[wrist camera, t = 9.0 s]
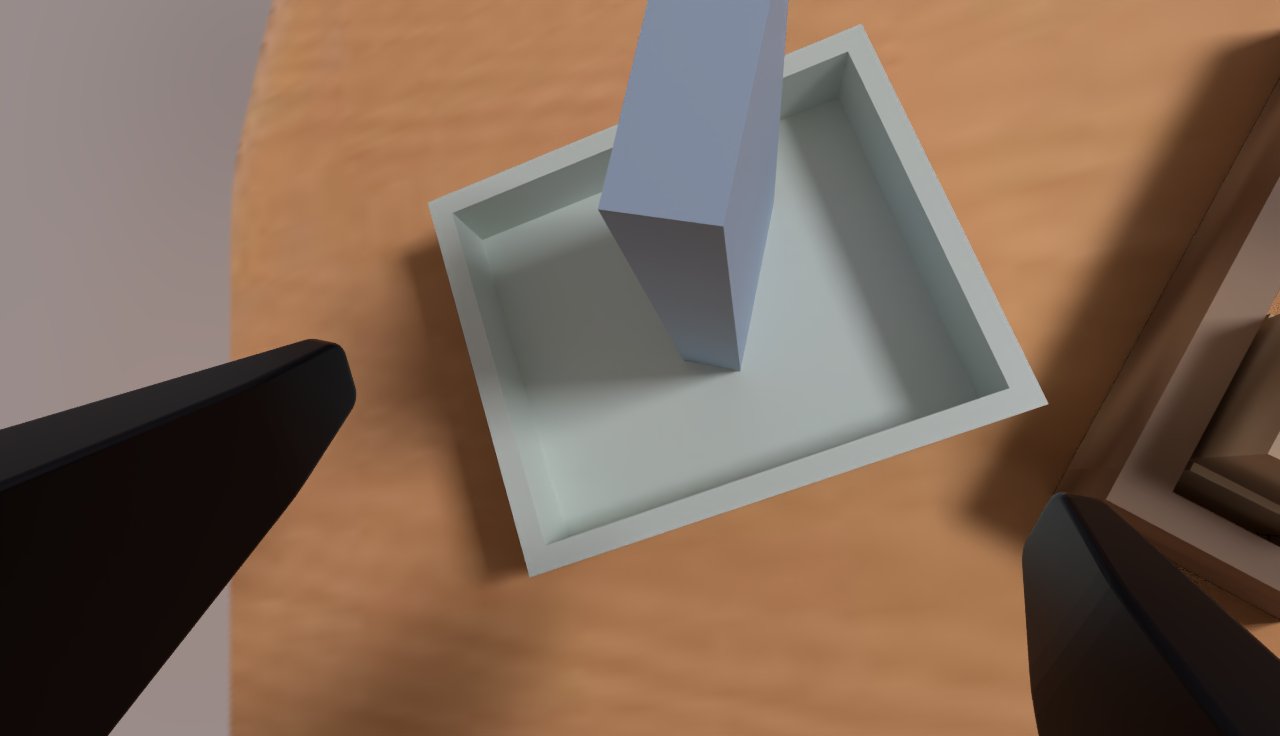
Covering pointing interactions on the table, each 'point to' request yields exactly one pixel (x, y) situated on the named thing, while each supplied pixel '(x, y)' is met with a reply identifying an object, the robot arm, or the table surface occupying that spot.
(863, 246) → the tray
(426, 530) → the table surface
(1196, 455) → the offcut
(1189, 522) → the rack
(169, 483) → the robot arm
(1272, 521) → the offcut
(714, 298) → the pale blue tall block
